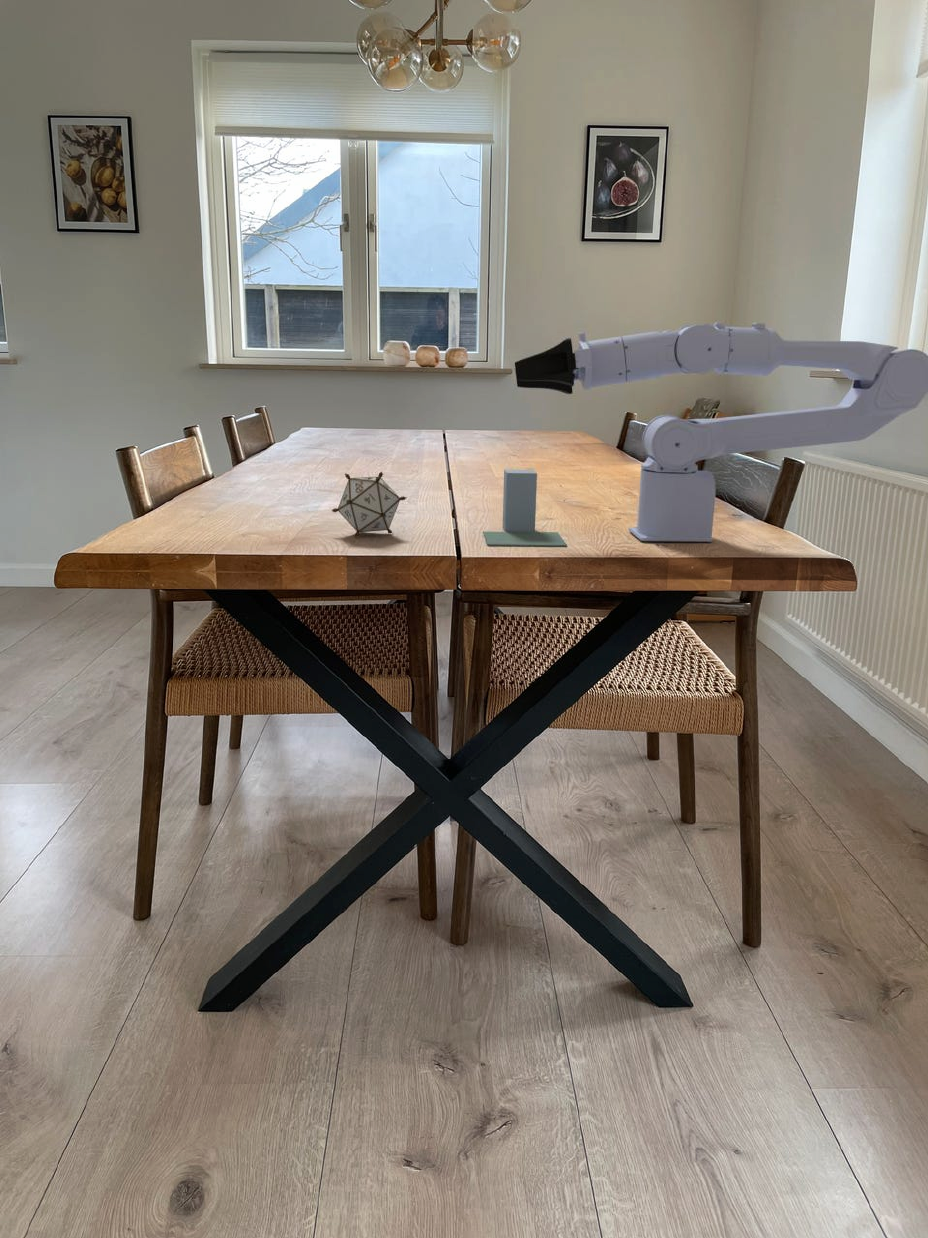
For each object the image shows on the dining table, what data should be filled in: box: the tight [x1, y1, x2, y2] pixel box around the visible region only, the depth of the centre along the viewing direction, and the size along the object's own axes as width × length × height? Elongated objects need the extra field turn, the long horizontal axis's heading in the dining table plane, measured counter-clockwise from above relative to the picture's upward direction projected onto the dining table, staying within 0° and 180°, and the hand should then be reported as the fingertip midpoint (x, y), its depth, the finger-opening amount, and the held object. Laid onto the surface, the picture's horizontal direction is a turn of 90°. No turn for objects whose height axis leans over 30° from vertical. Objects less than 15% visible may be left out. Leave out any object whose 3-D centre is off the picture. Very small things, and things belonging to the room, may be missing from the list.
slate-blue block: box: [502, 468, 538, 532], centre depth 127 cm, size 4×4×8 cm
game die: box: [331, 471, 407, 538], centre depth 122 cm, size 9×8×10 cm
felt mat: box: [482, 531, 568, 548], centre depth 122 cm, size 10×9×1 cm
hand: (515, 375), depth 121 cm, fingers open, 7 cm apart
